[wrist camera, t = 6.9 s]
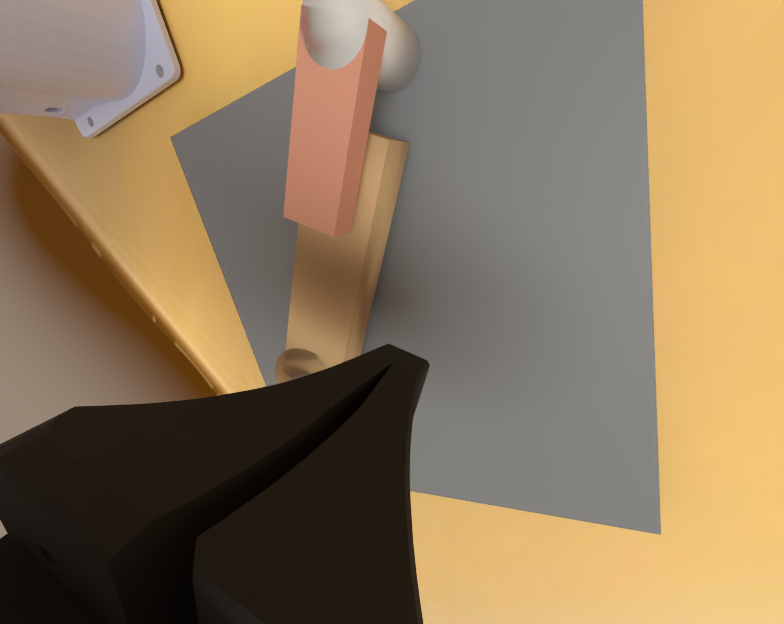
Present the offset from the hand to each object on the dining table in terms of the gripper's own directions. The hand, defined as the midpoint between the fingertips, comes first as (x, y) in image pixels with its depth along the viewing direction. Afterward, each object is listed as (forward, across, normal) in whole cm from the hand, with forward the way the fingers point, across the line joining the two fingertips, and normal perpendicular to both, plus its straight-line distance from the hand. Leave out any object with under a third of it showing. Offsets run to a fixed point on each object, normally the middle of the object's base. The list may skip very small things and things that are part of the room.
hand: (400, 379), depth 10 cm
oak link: (+5, +5, +1) cm, 7 cm away
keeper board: (+6, +2, +1) cm, 7 cm away
